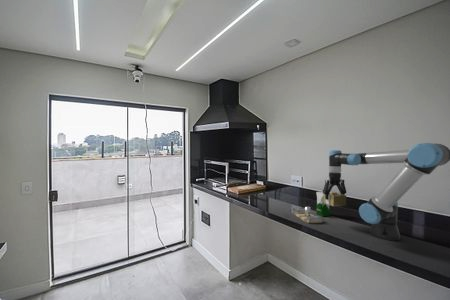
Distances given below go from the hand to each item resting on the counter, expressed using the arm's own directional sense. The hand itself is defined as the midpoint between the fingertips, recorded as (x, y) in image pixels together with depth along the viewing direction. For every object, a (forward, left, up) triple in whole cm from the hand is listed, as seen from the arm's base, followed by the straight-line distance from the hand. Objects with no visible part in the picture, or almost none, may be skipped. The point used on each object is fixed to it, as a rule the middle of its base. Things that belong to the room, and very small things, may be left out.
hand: (334, 203), depth 146 cm
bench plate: (+14, +11, -15) cm, 24 cm away
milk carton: (+19, -6, -15) cm, 25 cm away
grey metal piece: (+14, +11, -14) cm, 23 cm away
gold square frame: (0, 0, 0) cm, 0 cm away
